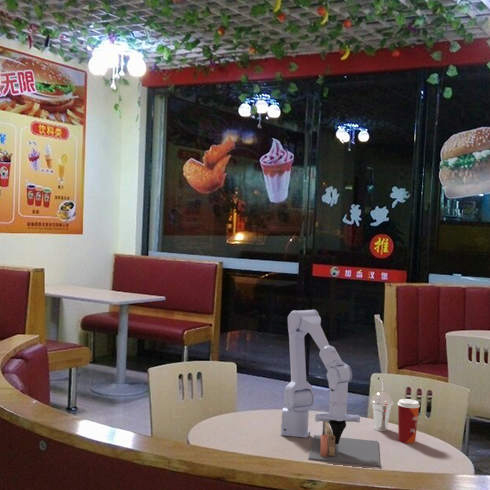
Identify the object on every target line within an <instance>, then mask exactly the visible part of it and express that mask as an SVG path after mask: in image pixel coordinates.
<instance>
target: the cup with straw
mask: <svg viewBox="0 0 490 490" xmlns="http://www.w3.org/2000/svg"><path fill="white" fill-rule="evenodd" d="M377 380H379V381H380V380H381V388H380V389H381V391H378V392H376V393H374V394H373V397H372V398H371V399H370V401H369V403H370V404H371V408H372V413H373V415H372V416H373V426H374V428H373V429H374V430H375V431H379V432H386V431H387V430H388V429H387V428H388V425H389V424H388V423H389V419H390V414H391V413H390V412H391V409H392V406H393V405H394V401H393V400H392V397H391V396H390V394H389V393H387V392H385V391H384V384H385V383H384V377H377Z"/></svg>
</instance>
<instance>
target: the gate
mask: <svg viewBox="0 0 490 490" xmlns="http://www.w3.org/2000/svg"><path fill="white" fill-rule="evenodd" d="M324 434H325V435H328V436H329V438H328V455H329V456H334V453H335V435H333V433H332V429H331V426H330V424H328V422H325V430H324Z"/></svg>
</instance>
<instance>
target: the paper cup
mask: <svg viewBox="0 0 490 490" xmlns="http://www.w3.org/2000/svg"><path fill="white" fill-rule="evenodd" d="M420 407H421V405H420V402H419V401H418V400H415V399H412V398H411V399H410V398H401V399H399V400H398V402H397V409H398V412H397V413H398V417H397V418H398V422H397V423H398V424H397V425H398V430H397V431H398V441H399V442H400V443H403V444H408V443H411V444H415V443H416V438H417V430H418V429H417V426H418V419H419V409H420Z"/></svg>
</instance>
